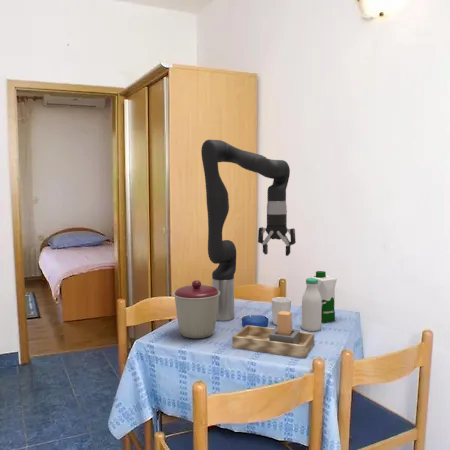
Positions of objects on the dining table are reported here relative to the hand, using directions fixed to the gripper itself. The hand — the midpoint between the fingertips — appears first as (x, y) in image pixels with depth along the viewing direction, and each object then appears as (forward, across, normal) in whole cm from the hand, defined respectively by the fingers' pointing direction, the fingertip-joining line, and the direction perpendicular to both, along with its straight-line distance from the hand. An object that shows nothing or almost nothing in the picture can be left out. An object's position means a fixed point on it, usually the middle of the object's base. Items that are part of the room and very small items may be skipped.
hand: (276, 254), depth 183 cm
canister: (+30, -27, -15) cm, 43 cm away
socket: (+30, +8, -16) cm, 35 cm away
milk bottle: (+30, +12, +8) cm, 34 cm away
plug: (+30, +8, -16) cm, 35 cm away
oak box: (+30, +4, -16) cm, 34 cm away
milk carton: (+30, +14, +21) cm, 39 cm away
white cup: (+30, -1, +10) cm, 32 cm away
